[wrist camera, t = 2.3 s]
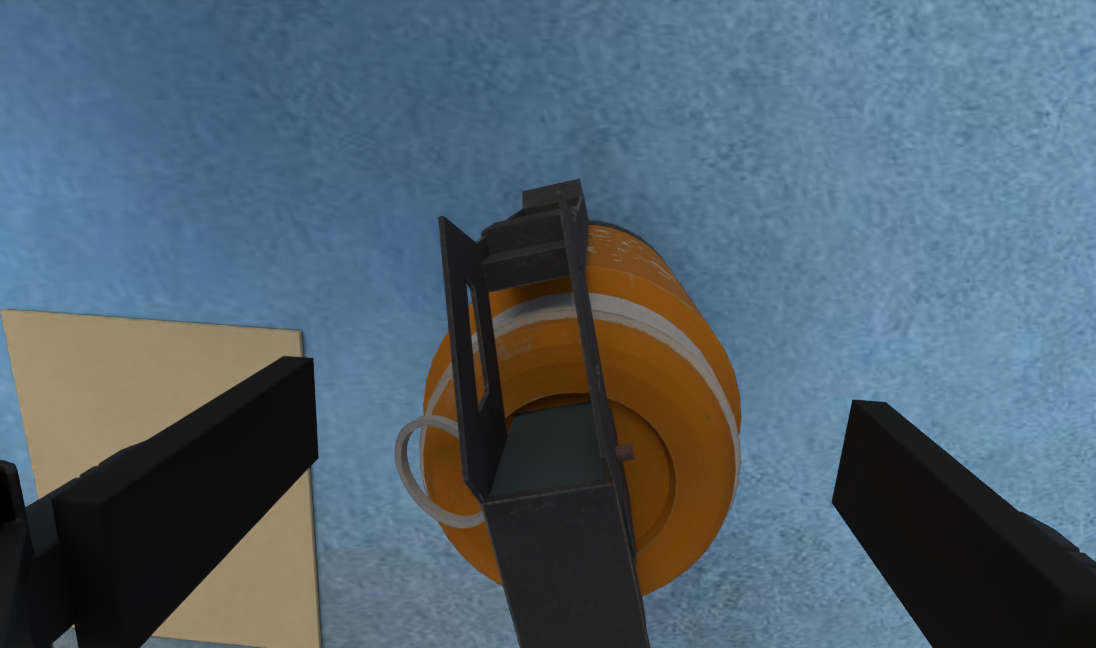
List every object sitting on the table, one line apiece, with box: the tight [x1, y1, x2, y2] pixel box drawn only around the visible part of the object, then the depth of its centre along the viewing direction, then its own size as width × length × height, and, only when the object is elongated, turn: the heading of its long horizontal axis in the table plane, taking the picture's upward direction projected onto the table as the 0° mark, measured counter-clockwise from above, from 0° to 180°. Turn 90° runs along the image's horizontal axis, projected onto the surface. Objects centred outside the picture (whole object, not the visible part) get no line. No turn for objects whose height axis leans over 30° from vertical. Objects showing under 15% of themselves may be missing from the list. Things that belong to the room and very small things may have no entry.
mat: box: [0, 309, 322, 648], centre depth 33 cm, size 20×16×1 cm
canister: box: [395, 179, 741, 648], centre depth 19 cm, size 9×11×20 cm
